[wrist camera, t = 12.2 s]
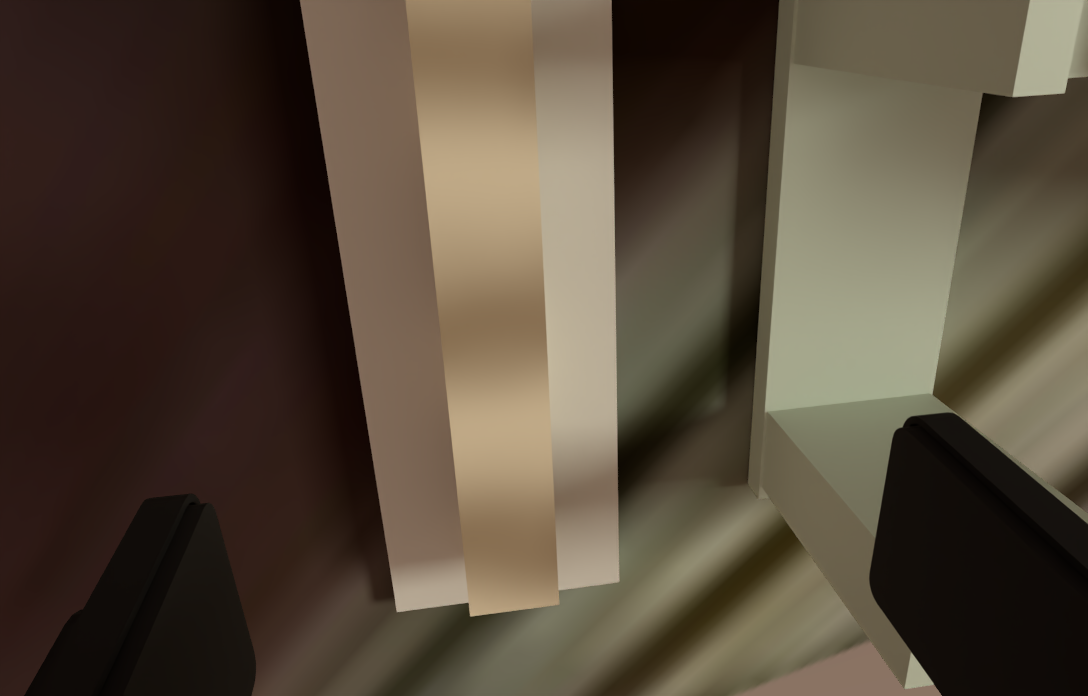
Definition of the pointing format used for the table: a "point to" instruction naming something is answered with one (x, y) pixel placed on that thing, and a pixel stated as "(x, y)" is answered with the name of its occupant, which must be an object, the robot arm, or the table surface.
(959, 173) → the cradle stand
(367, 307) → the felt mat
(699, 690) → the table surface
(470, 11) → the rail
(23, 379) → the table surface
